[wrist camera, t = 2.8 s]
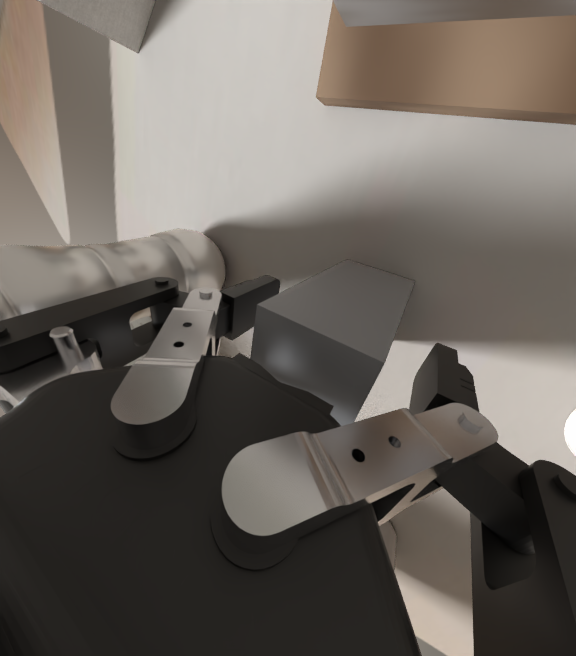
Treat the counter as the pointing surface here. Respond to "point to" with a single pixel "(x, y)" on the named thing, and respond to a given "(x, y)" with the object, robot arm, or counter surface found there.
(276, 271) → the counter surface
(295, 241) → the counter surface
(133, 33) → the small milk carton
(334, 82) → the socket board
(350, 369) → the plug
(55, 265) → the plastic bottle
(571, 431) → the champagne flute
